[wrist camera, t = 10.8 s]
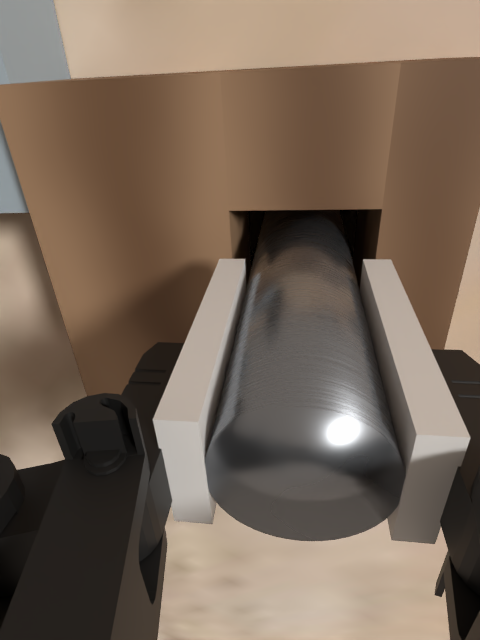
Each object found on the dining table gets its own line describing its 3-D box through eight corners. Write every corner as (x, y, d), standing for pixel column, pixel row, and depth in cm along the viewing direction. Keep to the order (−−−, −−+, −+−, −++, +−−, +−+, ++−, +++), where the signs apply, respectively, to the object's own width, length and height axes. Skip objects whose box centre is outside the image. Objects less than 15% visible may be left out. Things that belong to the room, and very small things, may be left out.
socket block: (128, 336, 22) (88, 400, 18) (70, 78, 16) (-11, 85, 12) (401, 345, 21) (426, 418, 16) (454, 57, 14) (517, 56, 10)
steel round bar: (263, 263, 19) (212, 532, 8) (261, 188, 17) (193, 403, 7) (338, 264, 19) (390, 548, 8) (345, 186, 17) (422, 415, 6)
